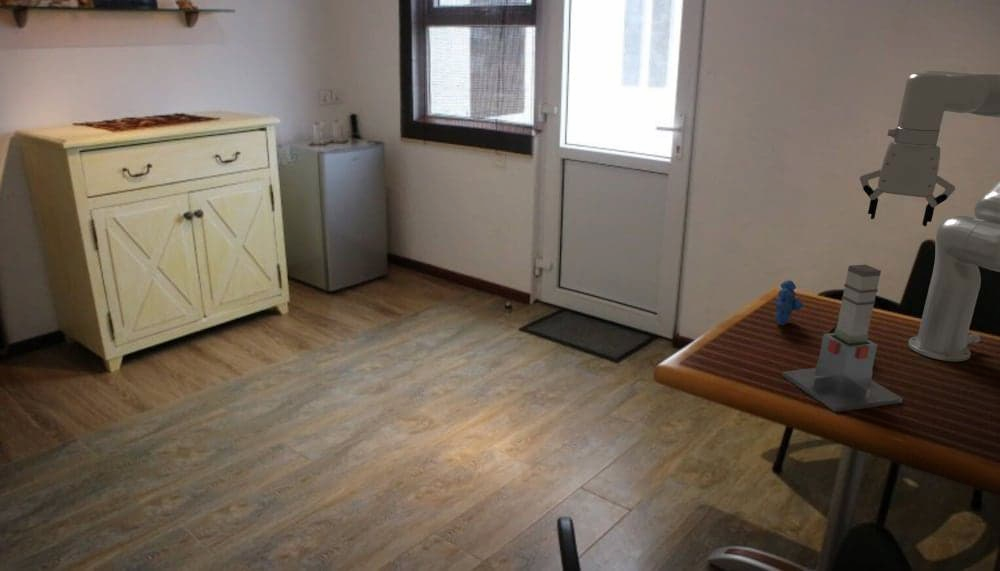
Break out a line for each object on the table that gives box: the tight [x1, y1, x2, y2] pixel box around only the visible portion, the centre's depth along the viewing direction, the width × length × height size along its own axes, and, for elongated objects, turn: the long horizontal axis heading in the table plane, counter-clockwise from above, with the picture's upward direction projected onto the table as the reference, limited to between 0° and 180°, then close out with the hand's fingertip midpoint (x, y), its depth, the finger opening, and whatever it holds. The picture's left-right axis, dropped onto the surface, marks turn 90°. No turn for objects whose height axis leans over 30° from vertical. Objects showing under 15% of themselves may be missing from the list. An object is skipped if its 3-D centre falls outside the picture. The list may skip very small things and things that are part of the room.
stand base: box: [781, 333, 904, 413], centre depth 151 cm, size 16×16×11 cm
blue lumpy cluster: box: [774, 279, 805, 326], centre depth 183 cm, size 12×7×12 cm, turn 150°
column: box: [834, 264, 882, 346], centre depth 148 cm, size 4×4×19 cm
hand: (898, 221), depth 155 cm, fingers open, 9 cm apart
